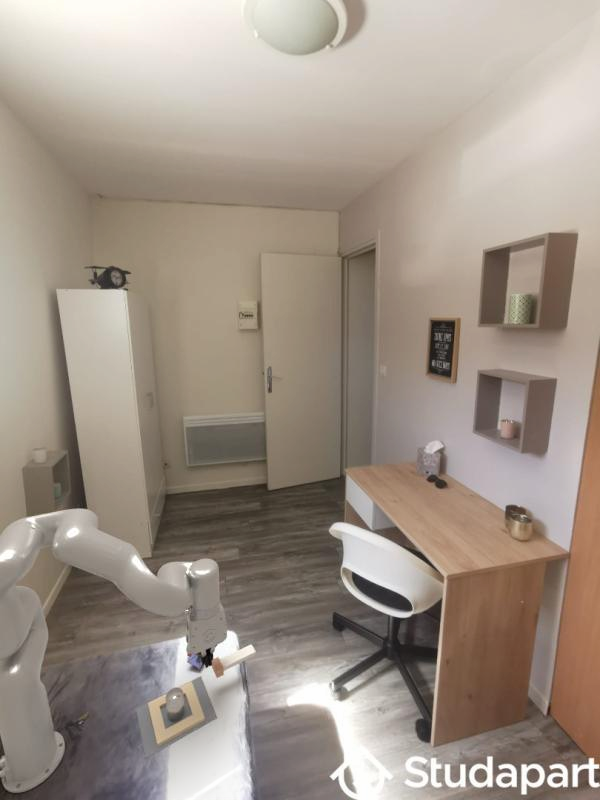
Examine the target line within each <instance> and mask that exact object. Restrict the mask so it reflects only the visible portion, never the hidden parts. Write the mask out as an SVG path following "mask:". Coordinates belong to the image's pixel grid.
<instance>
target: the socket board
mask: <svg viewBox="0 0 600 800" xmlns="http://www.w3.org/2000/svg"><path fill="white" fill-rule="evenodd" d="M177 688H181V689H182V691H183V698H184V709H185V712H184V715H183V717H182V718H181V719H180V720H178V721H175V722H172V721H170V720H169V719H168V716H167V707H166V694H167V693H168V692H167V693H164V694H163V695H160V696H158V697H156V698H154V699H152V700H150V701H148V702H146V703H144V704H142V705H139V706H138V707H135V710H136V716H137V723H138V726H139V731H140V736H141V737H140V738H141V742H142V746H143V750H144V751H143V753H144V757H145V759H148V758H149V757H151V756H153V755H154V754H156V753H158V752H160V751H162V750H163V749H165V748H167V747H168V746H171V745H172V744H174V743H175V742H178V741H179V740H181V739H183V738H185V737H187V736H188V735H190V734H192V733H194V732H196V731H198V729H200V728H203V727H204V726H206V725H208V724H210V723H211V722H213V721H214V720H216V719H218V716H217V714H216V712H215V708H214V706H213V703H212V701H211V698H210V695H209V693H208V691H207V688H206V685H205V683H204V680H203V678H202V676H199V677H196V678H194V679H193V680H190V681H188V682H186V683H184V684H182V685H180V686H178V687H177Z"/></svg>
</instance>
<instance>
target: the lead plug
mask: <svg viewBox="0 0 600 800" xmlns="http://www.w3.org/2000/svg"><path fill="white" fill-rule="evenodd" d="M165 694H166V693H165ZM166 707H167V716H168V719H169V720H170V721H172V722H175V721H178V720H180V719H181V718H182V717H183V715H184V712H185V709H184V698H183V691H182V689H181V688H178V687H172V688H171V689H169V690H168V692H167V694H166Z"/></svg>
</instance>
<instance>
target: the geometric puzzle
mask: <svg viewBox="0 0 600 800" xmlns="http://www.w3.org/2000/svg"><path fill="white" fill-rule="evenodd" d="M186 654H187V653H186ZM186 661H187V662H186V663H188V664H189V667H190V668H192V667H191V666H190V665H192V666H193V667H194V668H195V667H196V669H199V670H201V669H202V668H204V667H203V666H204V664H202V662H201V655H200V654H198V653H196V654H187V660H186Z"/></svg>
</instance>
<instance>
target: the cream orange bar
mask: <svg viewBox="0 0 600 800" xmlns="http://www.w3.org/2000/svg"><path fill="white" fill-rule="evenodd" d="M256 655H257V652H256V649H255V648H254V646H253V645H252V644H249V645H246V646H245V647H243V648H241V649H239V650H238V649H237V650H236V651H234V652H232V653H230V654H229V655H226V656H225V657H222V658H219V656H216V657H215V658H213V660H212V666H211V668H212V670H213V673H214V674H215V677H216V679H218V678H221V677H223V676H224V675H225V674H224V672H225V671H227V670H229V669H231V668H234V667H236V666H237V665H239V664H241V663H243V662H245V661H246V660H249V659H251V658H252V657H255V656H256Z"/></svg>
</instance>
